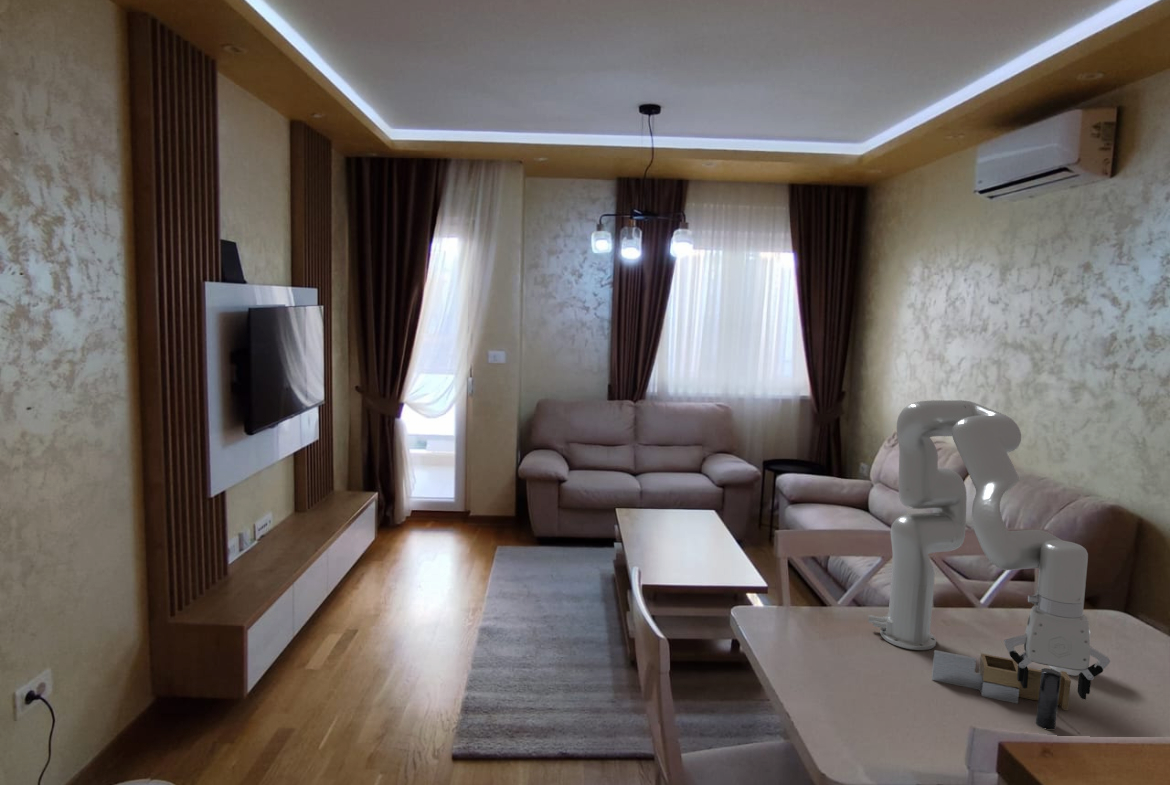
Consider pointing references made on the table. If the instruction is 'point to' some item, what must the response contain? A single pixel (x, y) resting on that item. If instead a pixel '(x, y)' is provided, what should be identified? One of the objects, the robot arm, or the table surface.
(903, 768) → the table surface
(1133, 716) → the table surface
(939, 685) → the table surface
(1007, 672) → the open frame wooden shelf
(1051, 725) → the pin
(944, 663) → the fixed leaf
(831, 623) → the table surface
